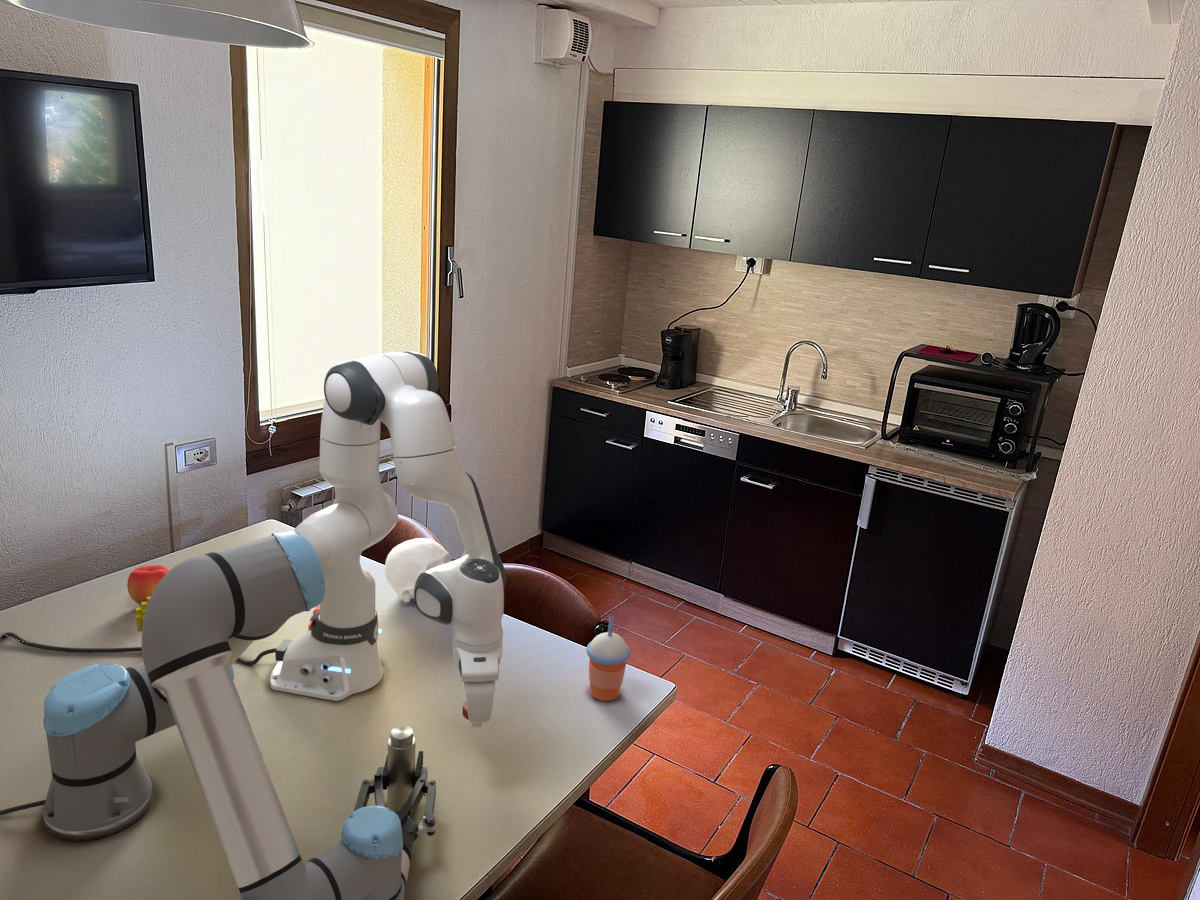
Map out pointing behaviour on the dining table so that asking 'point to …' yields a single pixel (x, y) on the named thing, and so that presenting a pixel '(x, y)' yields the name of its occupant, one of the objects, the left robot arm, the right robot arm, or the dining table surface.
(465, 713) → the lid
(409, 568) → the skull
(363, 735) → the dining table surface
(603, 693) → the cup with straw
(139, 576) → the apple
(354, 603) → the right robot arm
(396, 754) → the jar
